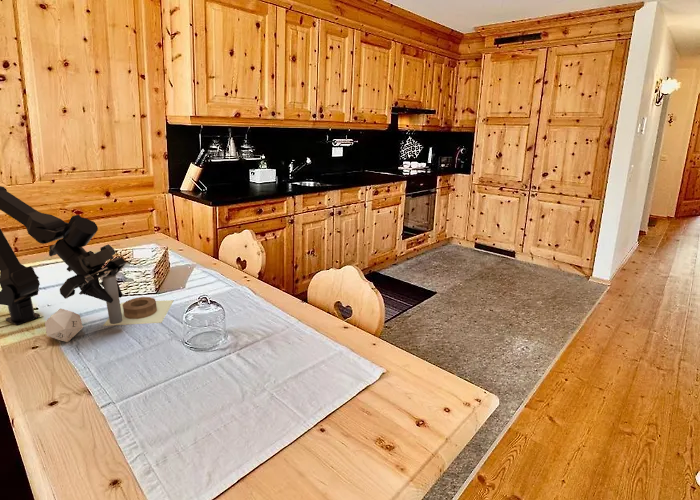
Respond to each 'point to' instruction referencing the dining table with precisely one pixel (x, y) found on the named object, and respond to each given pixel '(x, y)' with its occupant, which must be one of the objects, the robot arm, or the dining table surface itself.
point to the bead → (139, 307)
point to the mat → (155, 318)
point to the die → (63, 325)
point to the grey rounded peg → (113, 307)
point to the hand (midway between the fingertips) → (116, 299)
